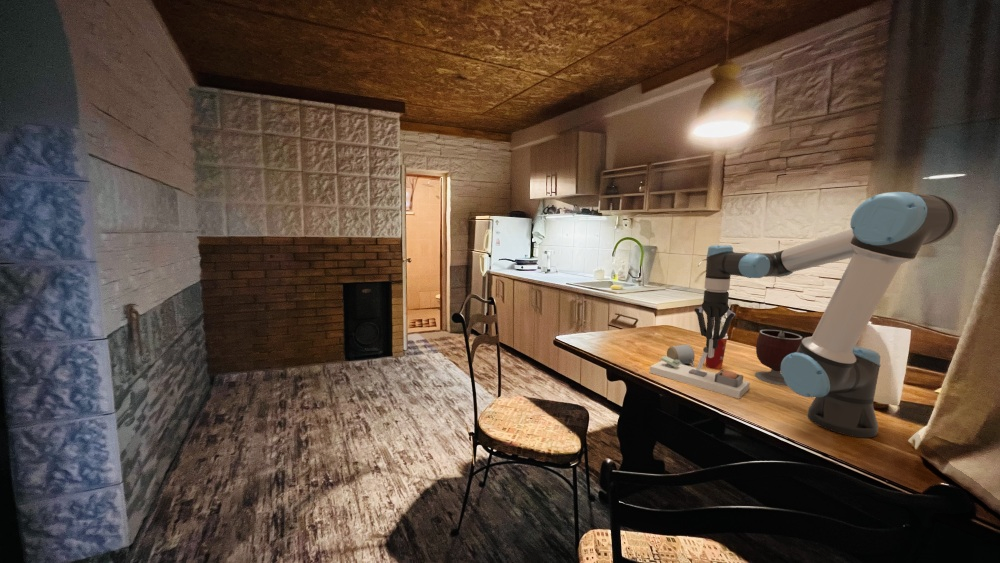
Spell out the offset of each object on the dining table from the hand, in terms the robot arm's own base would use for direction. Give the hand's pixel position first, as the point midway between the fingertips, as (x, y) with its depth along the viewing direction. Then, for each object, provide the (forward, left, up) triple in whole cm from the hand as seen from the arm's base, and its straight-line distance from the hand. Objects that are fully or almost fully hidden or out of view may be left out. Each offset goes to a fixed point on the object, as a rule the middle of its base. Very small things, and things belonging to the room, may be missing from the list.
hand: (710, 356), depth 140 cm
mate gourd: (-15, -24, -10) cm, 30 cm away
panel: (+4, 0, -10) cm, 10 cm away
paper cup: (+5, -21, -10) cm, 23 cm away
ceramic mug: (+14, -14, -10) cm, 22 cm away
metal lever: (+4, 0, -6) cm, 7 cm away
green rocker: (+14, 0, -6) cm, 15 cm away
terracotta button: (-6, 0, -7) cm, 9 cm away
